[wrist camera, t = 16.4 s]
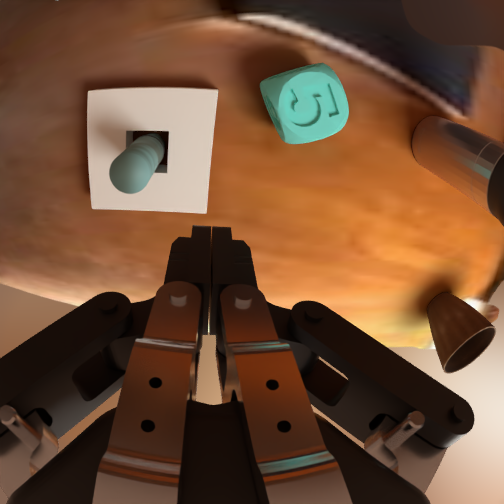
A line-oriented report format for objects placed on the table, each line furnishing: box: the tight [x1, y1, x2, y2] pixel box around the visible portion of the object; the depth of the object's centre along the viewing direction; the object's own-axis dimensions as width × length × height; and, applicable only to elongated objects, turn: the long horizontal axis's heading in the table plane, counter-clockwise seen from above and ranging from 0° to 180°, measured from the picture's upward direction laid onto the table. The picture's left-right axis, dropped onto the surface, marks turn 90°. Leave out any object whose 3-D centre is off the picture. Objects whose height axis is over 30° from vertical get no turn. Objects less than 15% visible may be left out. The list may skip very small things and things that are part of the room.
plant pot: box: [427, 292, 496, 373], centre depth 55 cm, size 15×15×16 cm
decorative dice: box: [260, 63, 349, 144], centre depth 32 cm, size 8×8×8 cm
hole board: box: [87, 87, 218, 214], centre depth 35 cm, size 16×16×4 cm
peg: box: [109, 133, 165, 194], centre depth 31 cm, size 4×4×12 cm
